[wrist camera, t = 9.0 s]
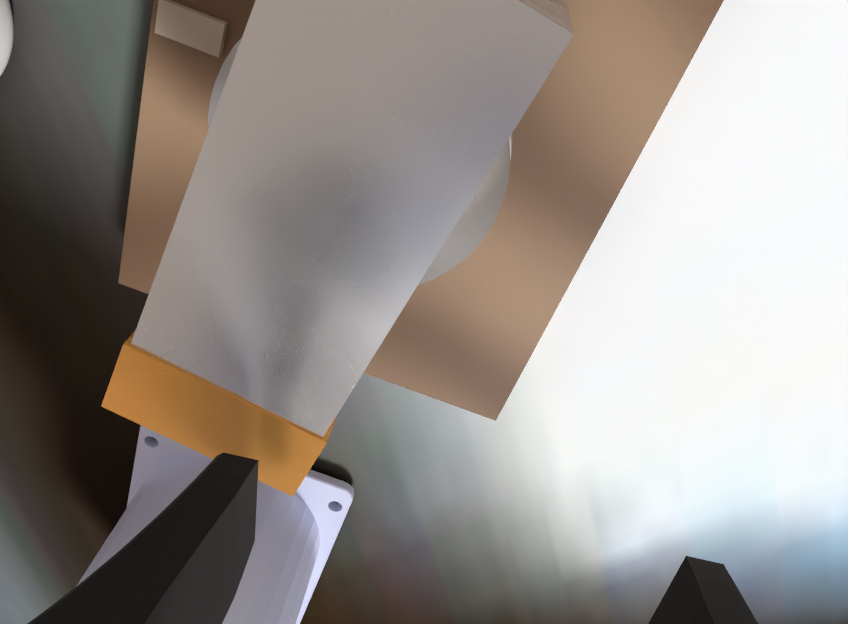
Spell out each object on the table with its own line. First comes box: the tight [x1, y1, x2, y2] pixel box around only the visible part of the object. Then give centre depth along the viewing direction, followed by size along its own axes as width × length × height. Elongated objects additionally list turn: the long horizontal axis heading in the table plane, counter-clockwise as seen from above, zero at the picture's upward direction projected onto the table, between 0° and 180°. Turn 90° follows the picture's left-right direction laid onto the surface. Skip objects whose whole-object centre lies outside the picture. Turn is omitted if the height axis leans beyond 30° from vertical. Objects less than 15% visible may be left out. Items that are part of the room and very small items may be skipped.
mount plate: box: [118, 0, 724, 421], centre depth 17 cm, size 16×12×4 cm
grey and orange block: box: [101, 0, 574, 497], centre depth 13 cm, size 6×9×5 cm, turn 152°
